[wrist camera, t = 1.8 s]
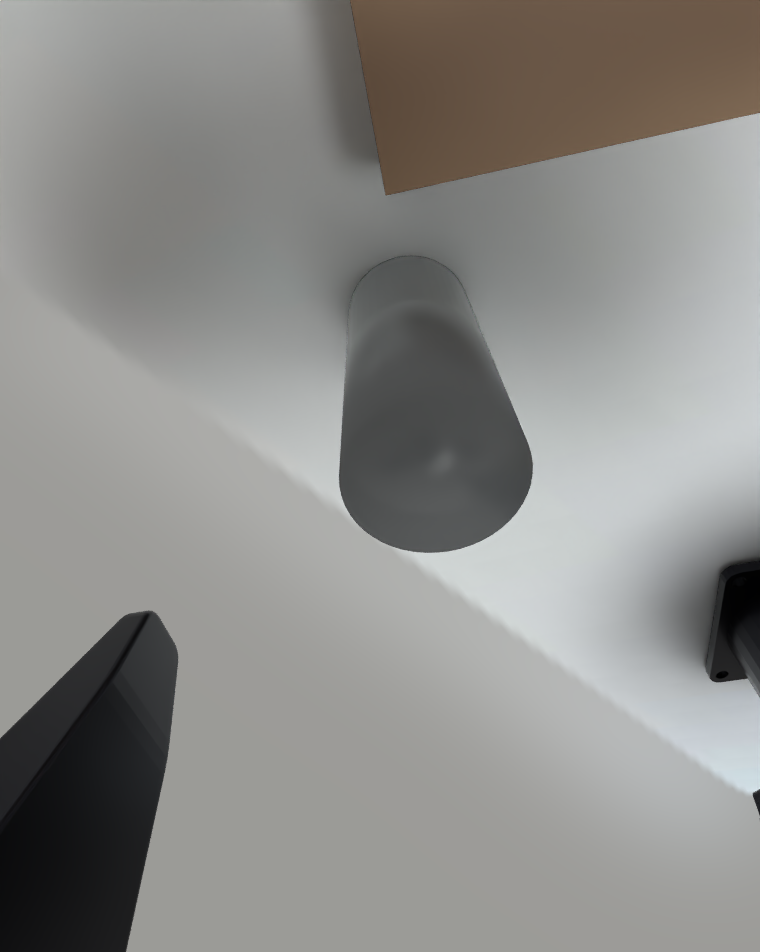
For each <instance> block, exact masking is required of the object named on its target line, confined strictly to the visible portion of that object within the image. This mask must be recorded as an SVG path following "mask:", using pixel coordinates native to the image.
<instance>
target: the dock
mask: <svg viewBox="0 0 760 952" xmlns="http://www.w3.org/2000/svg"><path fill="white" fill-rule="evenodd" d="M350 2H351V7H352V13H353V18H354V24H355V29H356V35H357V40H358V46H359V51H360V57H361V62H362V68H363V73H364V79H365V84H366V90H367V95H368V101H369V106H370V112H371V117H372V123H373V129H374V134H375V140H376V145H377V151H378V156H379V162H380V167H381V173H382V178H383V184H384V189H385V195H391V194H395V193H400V192H404V191H409V190H413V189H418V188H422V187H427V186H431V185H436V184H440V183H445V182H449V181H454V180H458V179H463V178H467V177H472V176H476V175H481V174H485V173H490V172H494V171H499V170H503V169H508V168H512V167H517V166H521V165H526V164H530V163H535V162H539V161H544V160H548V159H553V158H557V157H562V156H566V155H571V154H576V153H580V152H585V151H589V150H594V149H598V148H603V147H607V146H612V145H616V144H621V143H625V142H630V141H634V140H639V139H643V138H648V137H652V136H657V135H661V134H666V133H670V132H675V131H679V130H684V129H688V128H693V127H697V126H702V125H706V124H711V123H715V122H720V121H724V120H729V119H733V118H738V117H742V116H747V115H751V114H756V113H760V0H350Z"/></svg>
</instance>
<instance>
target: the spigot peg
mask: <svg viewBox="0 0 760 952" xmlns="http://www.w3.org/2000/svg"><path fill="white" fill-rule="evenodd" d="M532 470H533V463H532V456H531V451H530V448H529V445H528V442H527V440H526V438H525V435H524V433H523V430H522V428H521V426H520V423H519V421H518V418H517V416H516V413H515V411H514V409H513V406H512V404H511V401H510V399H509V397H508V394H507V392H506V389H505V387H504V385H503V382H502V380H501V377H500V375H499V372H498V370H497V368H496V365H495V363H494V360H493V358H492V356H491V353H490V351H489V348H488V346H487V344H486V341H485V339H484V336H483V334H482V332H481V329H480V327H479V324H478V322H477V319H476V317H475V315H474V312H473V310H472V307H471V305H470V303H469V300H468V298H467V295H466V293H465V291H464V289H463V287H462V285H461V283H460V281H459V280H458V279H457V277H456V276H455V275H454V274H453V273H452V272H451V271H450V270H449V269H447V268H446V267H445V266H443V265H442V264H440V263H438V262H436V261H434V260H431V259H428V258H425V257H419V256H402V257H397V258H393V259H390V260H387V261H385V262H383V263H381V264H379V265H377V266H376V267H374V268H373V269H372V270H370V271H369V272H368V273H367V274H366V275H365V276H364V277H363V278H362V280H361V281H360V282H359V284H358V285H357V287H356V289H355V291H354V293H353V295H352V298H351V302H350V306H349V314H348V331H347V349H346V366H345V383H344V401H343V418H342V435H341V452H340V470H339V484H340V491H341V496H342V499H343V501H344V504H345V506H346V508H347V510H348V512H349V513H350V515H351V516H352V518H353V519H354V520H355V522H356V523H357V524H358V525H359V526H360V527H361V528H362V529H363V530H364V531H366V532H367V533H368V534H370V535H371V536H372V537H374V538H376V539H378V540H379V541H381V542H383V543H385V544H388V545H390V546H393V547H396V548H399V549H403V550H408V551H413V552H424V553H434V552H445V551H452V550H456V549H461V548H464V547H467V546H470V545H473V544H475V543H477V542H480V541H482V540H484V539H485V538H487V537H489V536H491V535H492V534H494V533H495V532H497V531H498V530H499V529H501V528H502V527H503V526H504V525H505V524H506V523H508V522H509V521H510V520H511V518H512V517H513V516H514V515H515V514H516V513H517V511H518V510H519V508H520V507H521V505H522V504H523V502H524V500H525V498H526V496H527V494H528V491H529V488H530V485H531V479H532Z"/></svg>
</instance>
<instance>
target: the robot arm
mask: <svg viewBox="0 0 760 952" xmlns="http://www.w3.org/2000/svg"><path fill="white" fill-rule="evenodd" d="M177 667H178V652H177V648H176V645H175V643H174V642H173V640H172V638H171V636H170V635H169V633H168V631H167V630H166V628H165V626H164V625H163V623H162V621H161V619H160V618H159V616H158V615H157V614H156V613H155V612H153V611H143V612H137V613H131V614H128V615H125V616H124V617H123V618H121V619H120V620H119V621H118V622H117V623H116V624H115V625H114V626H113V627H112V628H111V629H110V630H109V631H108V632H107V633H106V634H105V635H104V636H103V637H102V638H101V639H100V640H99V641H98V642H97V643H96V644H95V645H94V646H93V647H92V648H91V649H90V650H89V651H88V652H87V653H86V654H85V655H84V656H83V657H82V658H81V659H80V660H79V661H78V662H77V663H76V664H75V665H74V666H73V667H72V668H71V669H70V670H69V671H68V672H67V673H66V674H65V675H64V676H63V677H62V678H61V679H60V680H59V681H58V682H57V683H56V684H55V685H54V686H53V687H52V688H51V689H50V690H49V691H48V692H47V693H46V694H45V695H44V696H43V697H42V698H41V699H40V700H39V701H38V702H37V703H36V704H35V705H34V706H33V707H32V708H31V709H30V710H29V711H28V712H27V713H26V714H24V715H23V716H22V717H21V719H19V720H18V721H17V722H16V723H15V725H13V726H12V727H11V728H10V729H9V730H8V731H7V732H6V733H5V734H4V735H3V736H2V737H1V738H0V952H126V949H127V945H128V940H129V935H130V931H131V926H132V921H133V917H134V912H135V908H136V903H137V898H138V894H139V889H140V884H141V880H142V875H143V871H144V866H145V861H146V857H147V852H148V848H149V843H150V838H151V834H152V829H153V824H154V820H155V815H156V810H157V806H158V801H159V797H160V792H161V787H162V782H163V778H164V773H165V768H166V763H167V757H168V750H169V743H170V732H171V724H172V713H173V705H174V695H175V686H176V677H177ZM706 672H707V674H708V676H709V678H710V679H711V680H712V681H714V682H726V681H733V680H740V679H747V678H748V679H749V681H750V682H751V684H752V686H753V687H754V689H755V691H756V692H757V694H758V695H759V697H760V561H758V562H752V563H745V564H739V565H734V566H730V567H728V568H727V569H725V570H724V571H723V572H722V573H721V576H720V580H719V587H718V593H717V599H716V606H715V612H714V619H713V625H712V631H711V638H710V644H709V650H708V657H707V663H706ZM753 797H754V800H755V803H756V806H757V809H758V811H759V815H760V789H759V790H757V791H755V792H753Z"/></svg>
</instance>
